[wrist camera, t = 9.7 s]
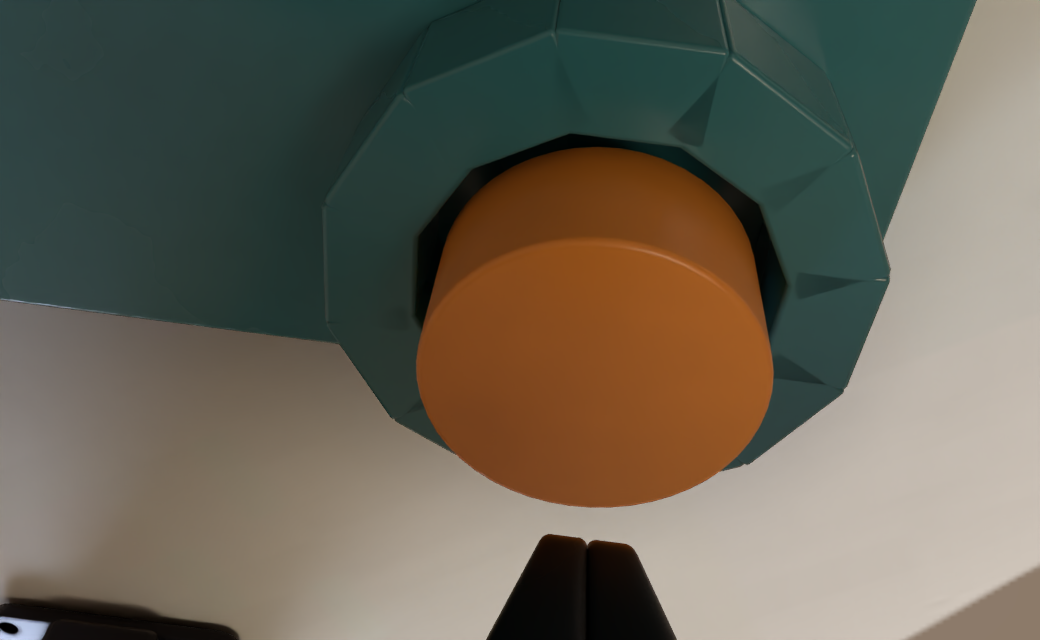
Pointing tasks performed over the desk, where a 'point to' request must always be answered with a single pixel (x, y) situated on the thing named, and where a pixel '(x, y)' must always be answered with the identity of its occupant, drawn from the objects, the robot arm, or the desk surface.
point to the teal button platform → (447, 155)
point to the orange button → (596, 331)
